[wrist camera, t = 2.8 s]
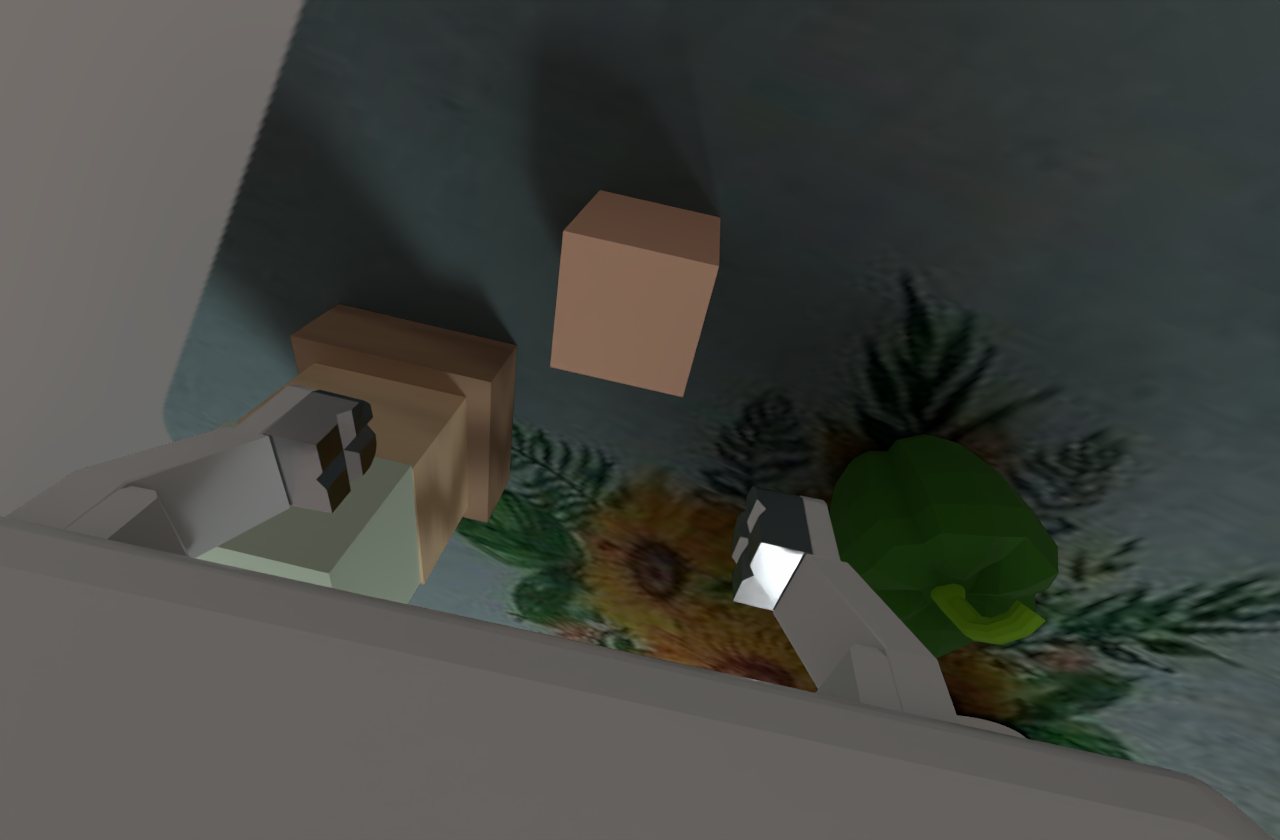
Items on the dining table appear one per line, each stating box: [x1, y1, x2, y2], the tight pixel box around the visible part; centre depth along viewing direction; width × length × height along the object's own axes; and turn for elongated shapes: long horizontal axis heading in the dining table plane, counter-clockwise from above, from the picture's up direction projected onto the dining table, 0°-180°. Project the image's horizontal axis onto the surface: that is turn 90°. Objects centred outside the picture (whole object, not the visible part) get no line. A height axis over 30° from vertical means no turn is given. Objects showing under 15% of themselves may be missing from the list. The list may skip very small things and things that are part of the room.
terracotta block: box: [550, 190, 720, 397], centre depth 20 cm, size 5×5×6 cm
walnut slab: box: [290, 304, 517, 522], centre depth 27 cm, size 9×9×4 cm
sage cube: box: [196, 421, 421, 604], centre depth 20 cm, size 7×7×5 cm
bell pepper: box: [829, 434, 1058, 659], centre depth 23 cm, size 8×8×10 cm
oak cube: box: [236, 363, 468, 584], centre depth 24 cm, size 7×7×5 cm
